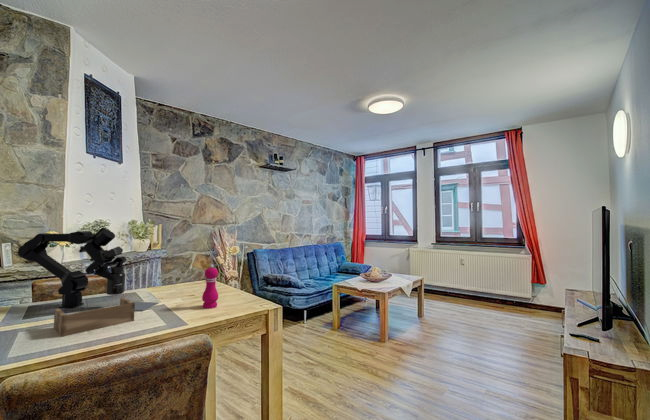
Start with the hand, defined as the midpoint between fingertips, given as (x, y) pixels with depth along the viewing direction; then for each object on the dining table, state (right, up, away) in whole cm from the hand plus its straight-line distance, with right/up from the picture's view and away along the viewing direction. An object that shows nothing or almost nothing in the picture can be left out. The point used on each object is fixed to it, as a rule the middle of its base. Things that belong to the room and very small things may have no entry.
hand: (119, 278), depth 138 cm
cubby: (+5, -13, -21) cm, 25 cm away
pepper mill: (+39, -15, +5) cm, 42 cm away
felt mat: (+7, -14, +2) cm, 16 cm away
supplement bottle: (-2, -7, 0) cm, 7 cm away
